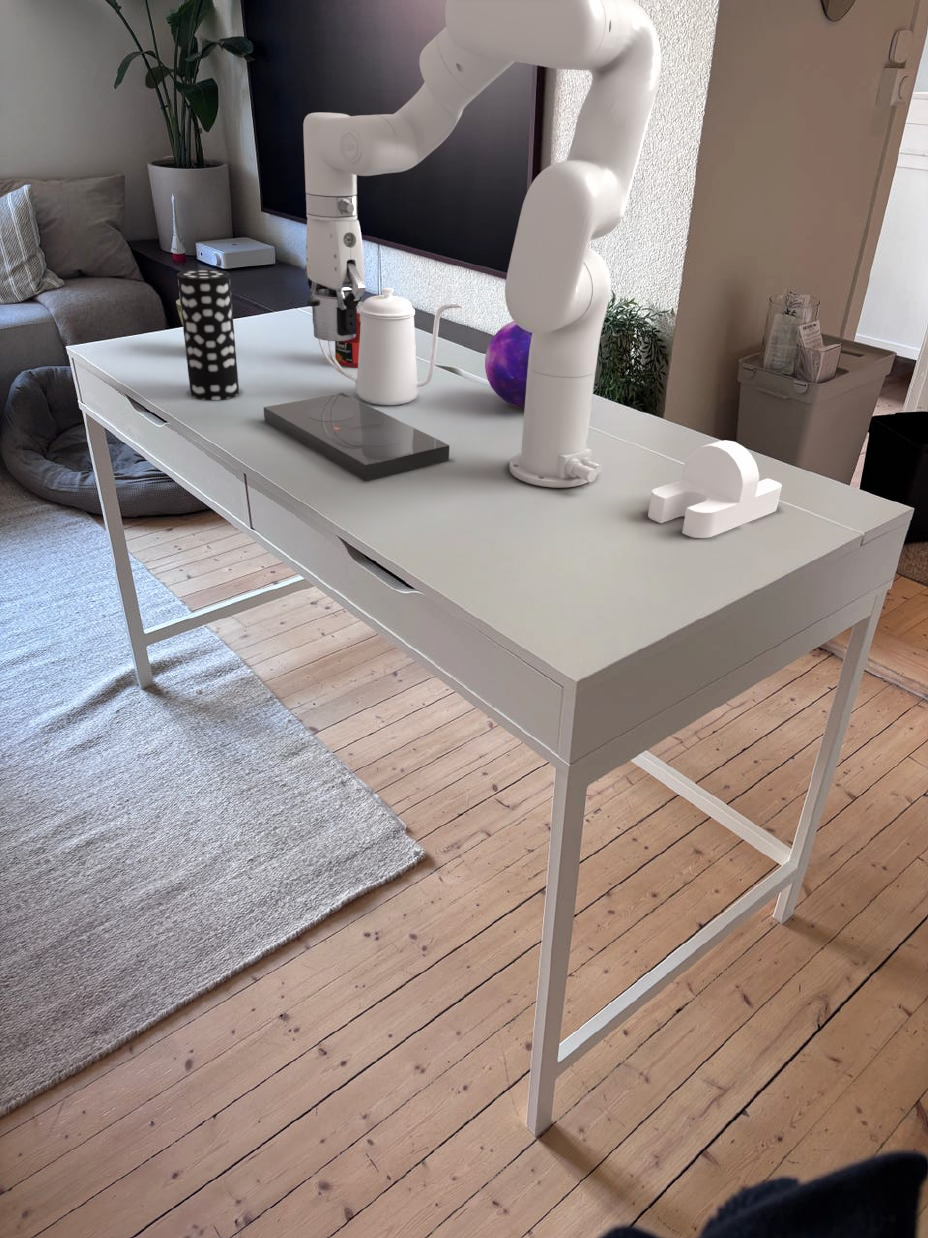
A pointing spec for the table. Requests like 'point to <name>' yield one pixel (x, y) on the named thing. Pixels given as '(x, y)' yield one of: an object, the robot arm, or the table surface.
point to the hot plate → (356, 436)
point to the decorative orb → (509, 363)
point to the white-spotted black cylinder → (209, 333)
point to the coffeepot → (388, 350)
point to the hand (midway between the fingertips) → (334, 328)
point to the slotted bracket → (716, 492)
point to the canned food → (349, 347)
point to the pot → (326, 315)
